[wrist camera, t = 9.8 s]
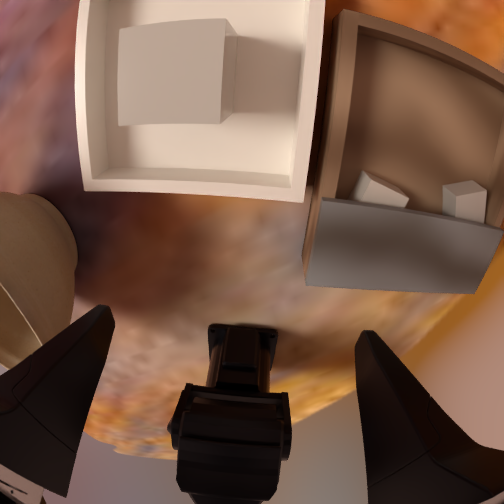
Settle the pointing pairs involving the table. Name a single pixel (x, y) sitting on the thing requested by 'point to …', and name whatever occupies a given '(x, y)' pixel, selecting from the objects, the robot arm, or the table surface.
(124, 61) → the light grey cube
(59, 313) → the planter bowl
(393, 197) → the light grey short block
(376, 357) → the robot arm
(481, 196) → the small grey block
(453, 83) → the grey shallow tray
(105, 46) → the pale tray
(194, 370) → the table surface
